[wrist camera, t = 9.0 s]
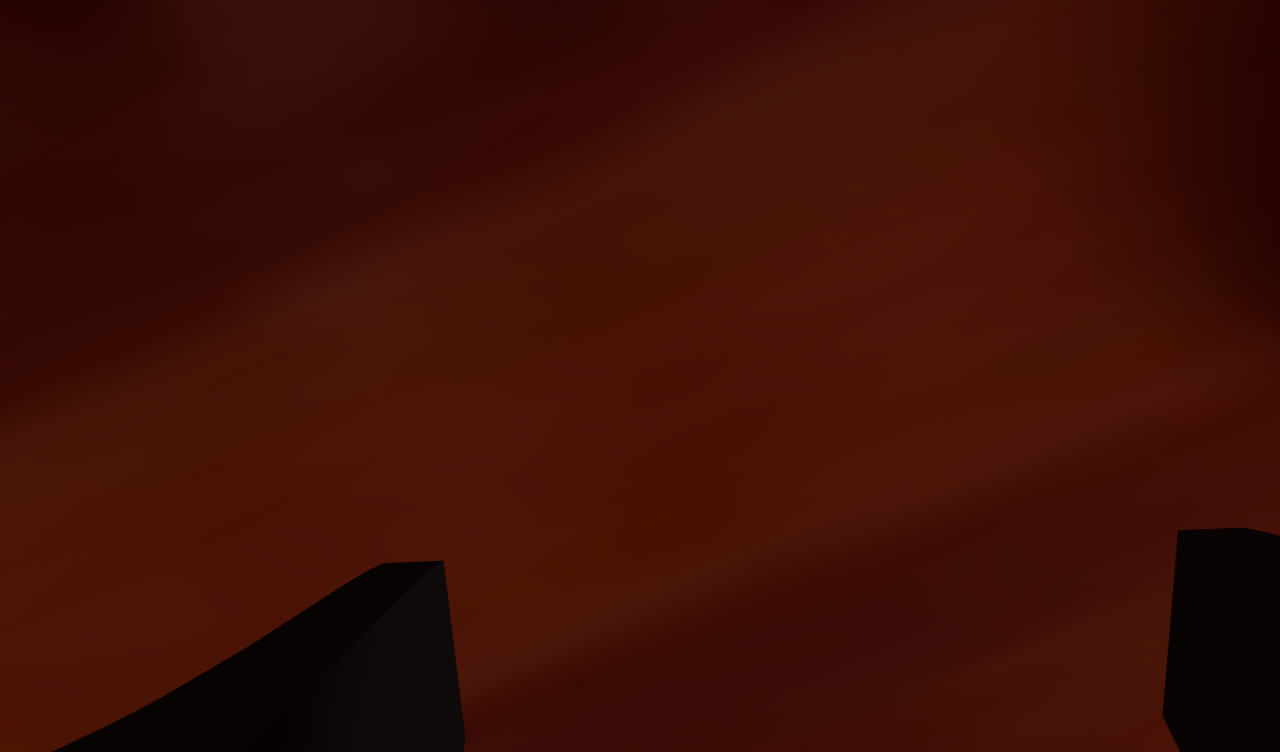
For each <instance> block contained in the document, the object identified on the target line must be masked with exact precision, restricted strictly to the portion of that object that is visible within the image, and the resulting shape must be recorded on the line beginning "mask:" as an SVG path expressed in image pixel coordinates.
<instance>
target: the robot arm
mask: <svg viewBox="0 0 1280 752" xmlns="http://www.w3.org/2000/svg"><path fill="white" fill-rule="evenodd" d="M1163 717H1164V719H1165V721H1166V724H1167V726H1168V728H1169V730H1170V732H1171V734H1172V736H1173V738H1174V740H1175V742H1176V744H1177V746H1178V748H1179V751H1180V752H1280V536H1278V535H1274V534H1270V533H1266V532H1262V531H1257V530H1252V529H1248V528H1223V529H1199V530H1178V537H1177V549H1176V561H1175V573H1174V585H1173V597H1172V609H1171V621H1170V633H1169V645H1168V657H1167V669H1166V681H1165V693H1164V705H1163ZM464 743H465V732H464V724H463V715H462V707H461V699H460V691H459V683H458V675H457V666H456V658H455V650H454V642H453V634H452V626H451V618H450V609H449V601H448V593H447V585H446V577H445V569H444V561H427V562H403V563H383V564H381V565H379V566H377V567H375V568H372V569H370V570H369V571H367V572H365V573H363V574H361V575H360V576H358V577H356V578H354V579H353V580H351V581H350V582H348V583H346V584H345V585H343V586H342V587H340V588H338V589H337V590H335V591H334V592H332V593H331V594H329V595H327V596H326V597H324V598H323V599H321V600H320V601H318V602H317V603H315V604H314V605H312V606H311V607H309V608H307V609H306V610H304V611H303V612H301V613H300V614H298V615H297V616H295V617H294V618H292V619H290V620H289V621H287V622H286V623H284V624H283V625H281V626H280V627H278V628H276V629H275V630H273V631H272V632H270V633H269V634H267V635H266V636H264V637H262V638H261V639H259V640H258V641H256V642H255V643H253V644H252V645H250V646H248V647H247V648H245V649H243V650H242V651H240V652H238V653H236V654H235V655H233V656H231V657H230V658H228V659H226V660H225V661H223V662H221V663H219V664H218V665H216V666H214V667H213V668H211V669H209V670H208V671H206V672H204V673H203V674H201V675H199V676H197V677H196V678H194V679H192V680H191V681H189V682H187V683H186V684H184V685H182V686H180V687H179V688H177V689H175V690H174V691H172V692H170V693H169V694H167V695H165V696H163V697H161V698H160V699H158V700H156V701H154V702H152V703H150V704H148V705H147V706H145V707H143V708H141V709H139V710H137V711H135V712H133V713H131V714H129V715H127V716H125V717H123V718H122V719H120V720H118V721H116V722H114V723H112V724H110V725H108V726H105V727H103V728H101V729H99V730H97V731H95V732H93V733H91V734H89V735H87V736H84V737H82V738H80V739H78V740H76V741H74V742H72V743H70V744H68V745H66V746H63V747H61V748H59V749H57V750H55V751H53V752H463V749H464Z"/></svg>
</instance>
